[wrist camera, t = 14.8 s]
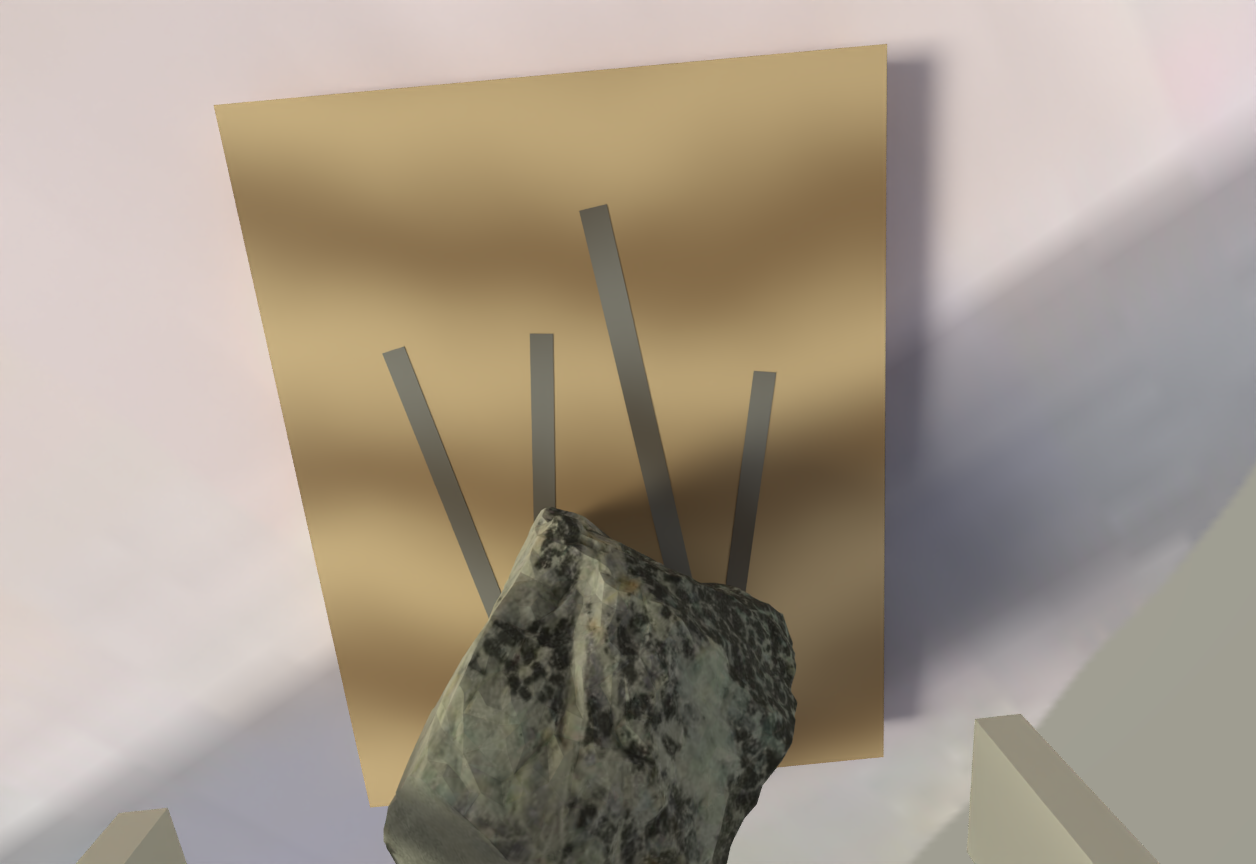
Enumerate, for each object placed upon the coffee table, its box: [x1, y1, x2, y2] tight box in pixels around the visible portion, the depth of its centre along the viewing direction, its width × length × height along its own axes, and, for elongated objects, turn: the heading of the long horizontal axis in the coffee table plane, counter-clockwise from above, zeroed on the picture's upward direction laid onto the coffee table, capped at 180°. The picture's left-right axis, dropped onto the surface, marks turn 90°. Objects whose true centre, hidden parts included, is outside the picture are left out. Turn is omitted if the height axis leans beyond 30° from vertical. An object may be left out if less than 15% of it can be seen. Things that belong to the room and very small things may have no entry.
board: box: [214, 44, 887, 807], centre depth 18 cm, size 20×16×2 cm
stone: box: [384, 507, 798, 864], centre depth 16 cm, size 10×10×10 cm
